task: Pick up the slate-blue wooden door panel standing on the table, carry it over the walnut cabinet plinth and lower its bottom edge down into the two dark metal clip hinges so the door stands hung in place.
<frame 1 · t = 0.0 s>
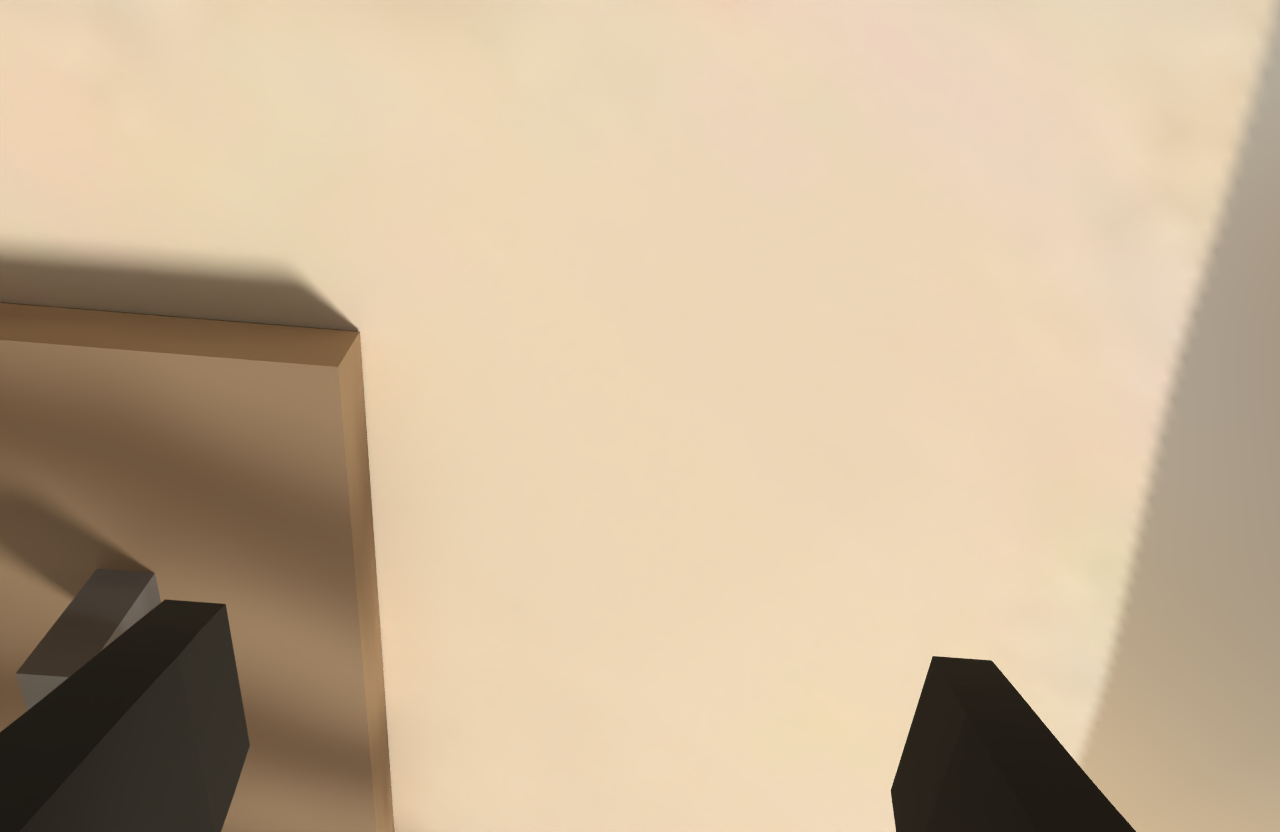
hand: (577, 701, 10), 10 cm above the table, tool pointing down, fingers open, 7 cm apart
plinth: (140, 679, 24), on the table
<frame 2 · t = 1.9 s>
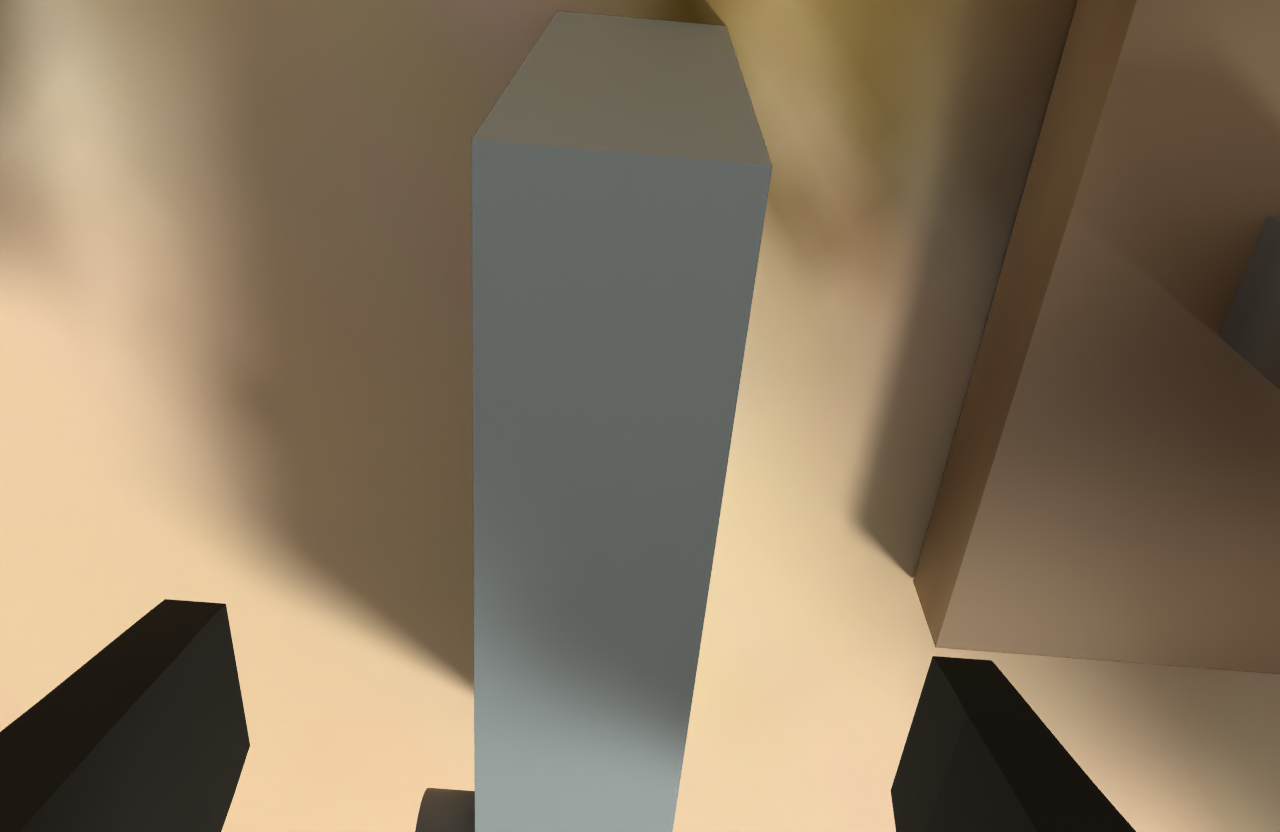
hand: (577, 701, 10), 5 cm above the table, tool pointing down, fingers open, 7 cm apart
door: (609, 443, 15), on the table
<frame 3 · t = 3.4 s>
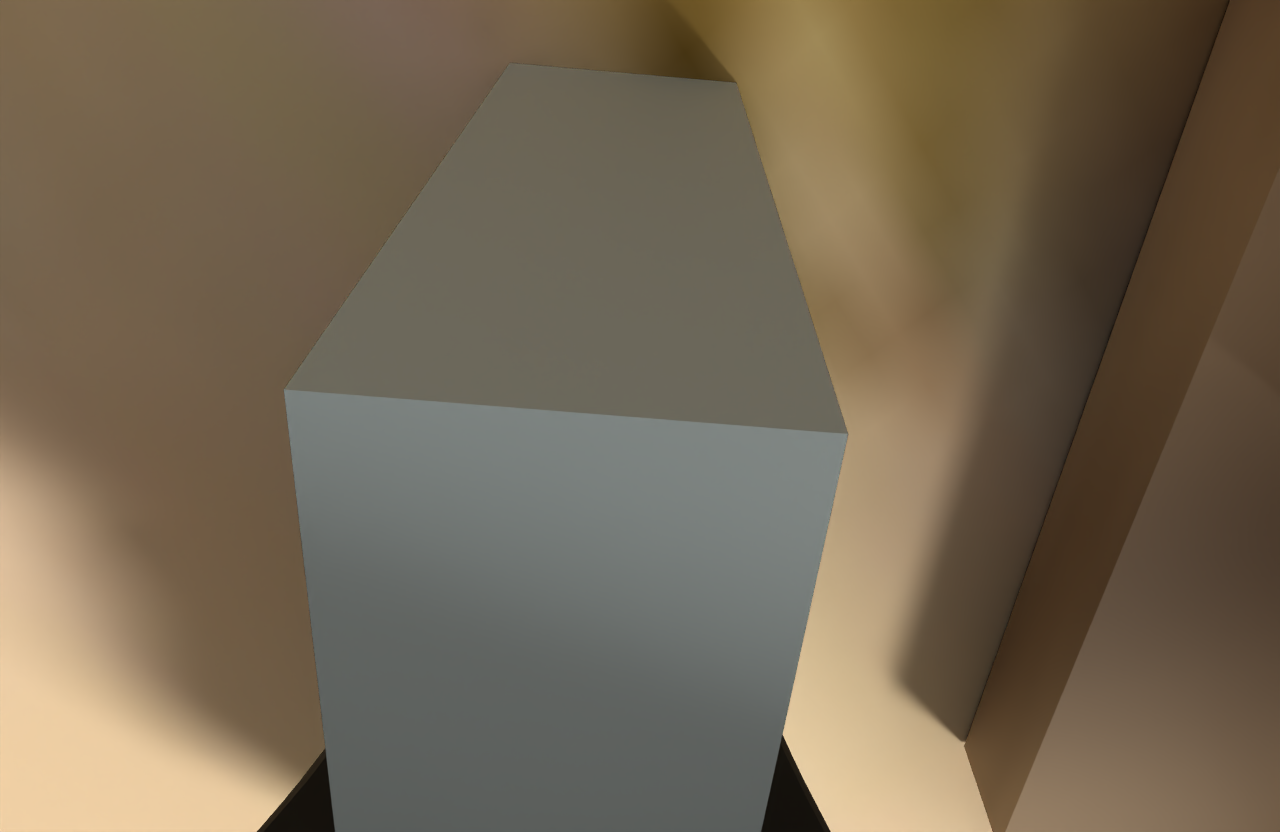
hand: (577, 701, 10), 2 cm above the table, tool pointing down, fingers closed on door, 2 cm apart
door: (587, 596, 12), on the table, touching gripper
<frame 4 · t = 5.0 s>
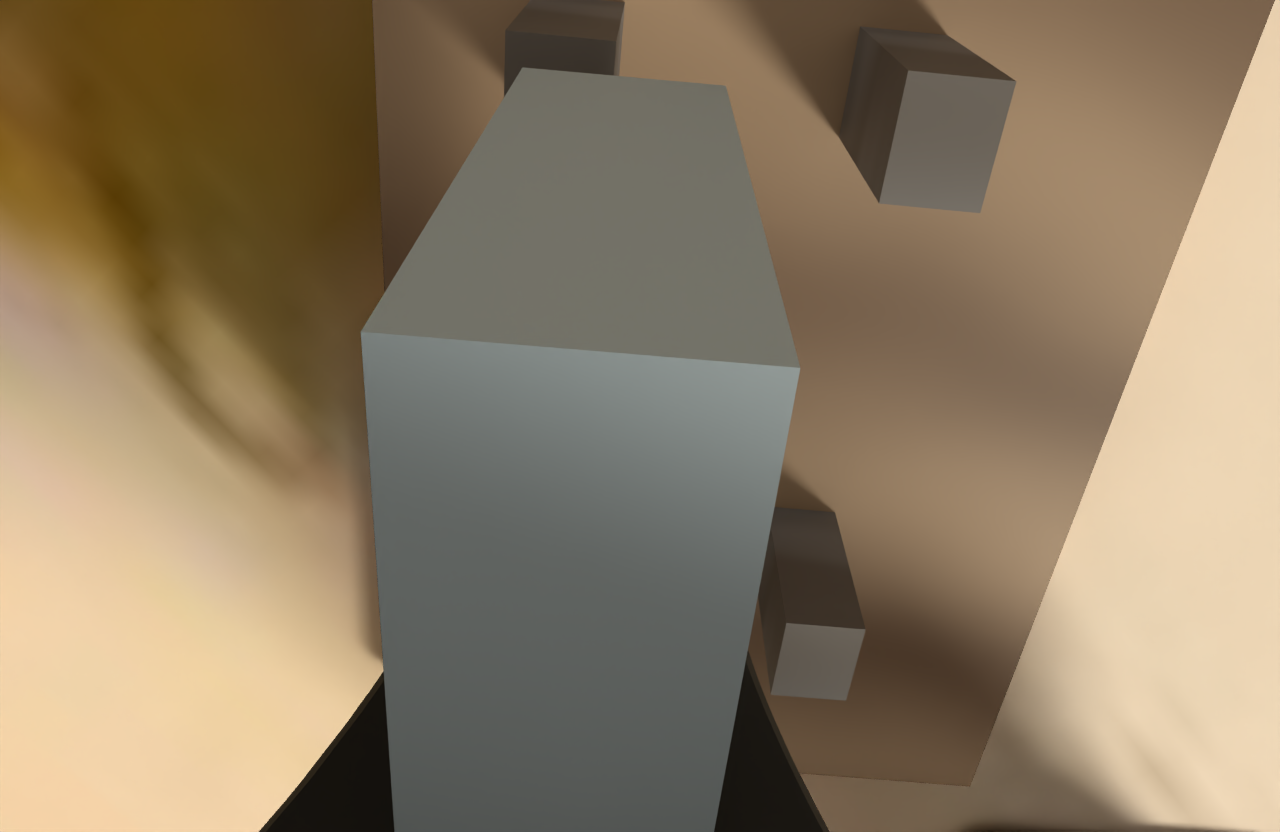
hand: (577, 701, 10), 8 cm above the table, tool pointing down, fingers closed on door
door: (589, 557, 13), point 6 cm above the table, touching gripper
plinth: (754, 299, 17), on the table
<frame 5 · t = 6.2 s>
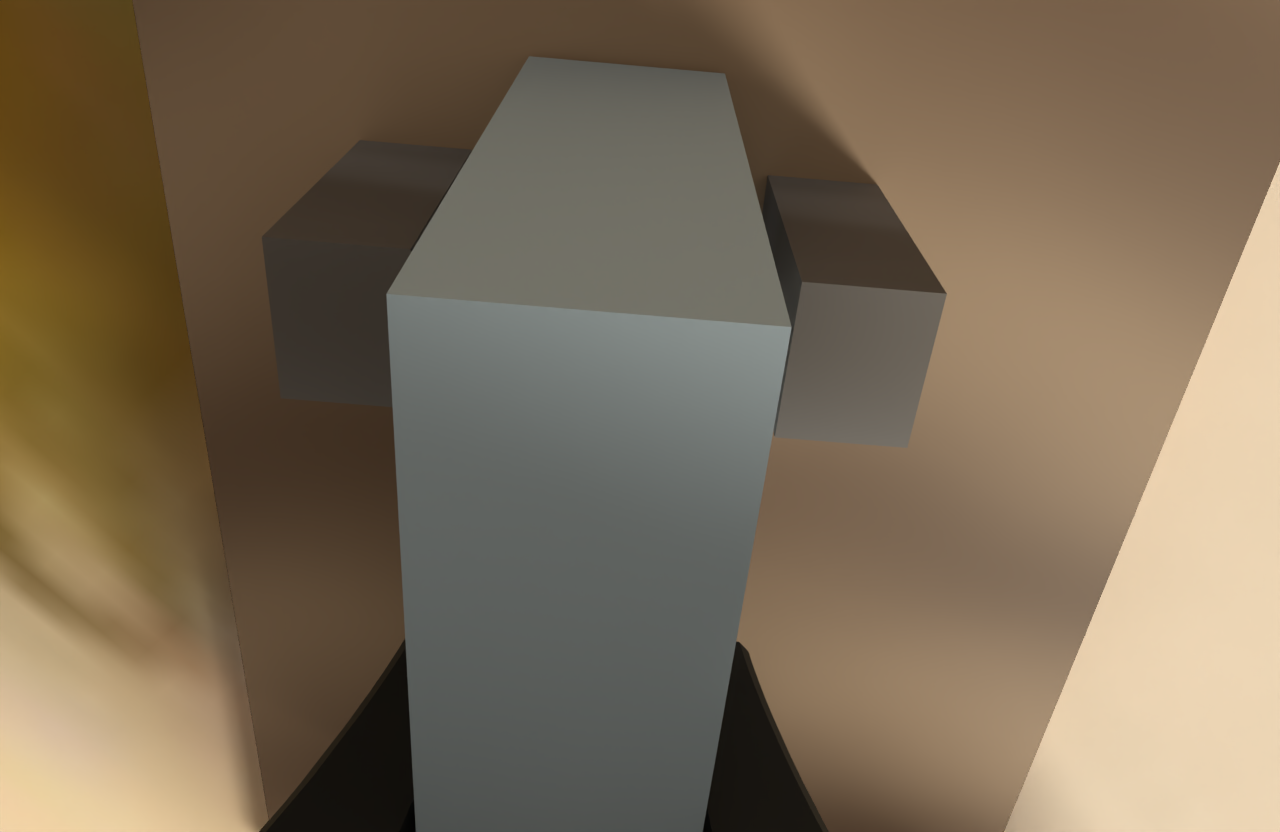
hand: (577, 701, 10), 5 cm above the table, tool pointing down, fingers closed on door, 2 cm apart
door: (593, 534, 13), point 2 cm above the table, touching gripper
plinth: (669, 462, 14), on the table
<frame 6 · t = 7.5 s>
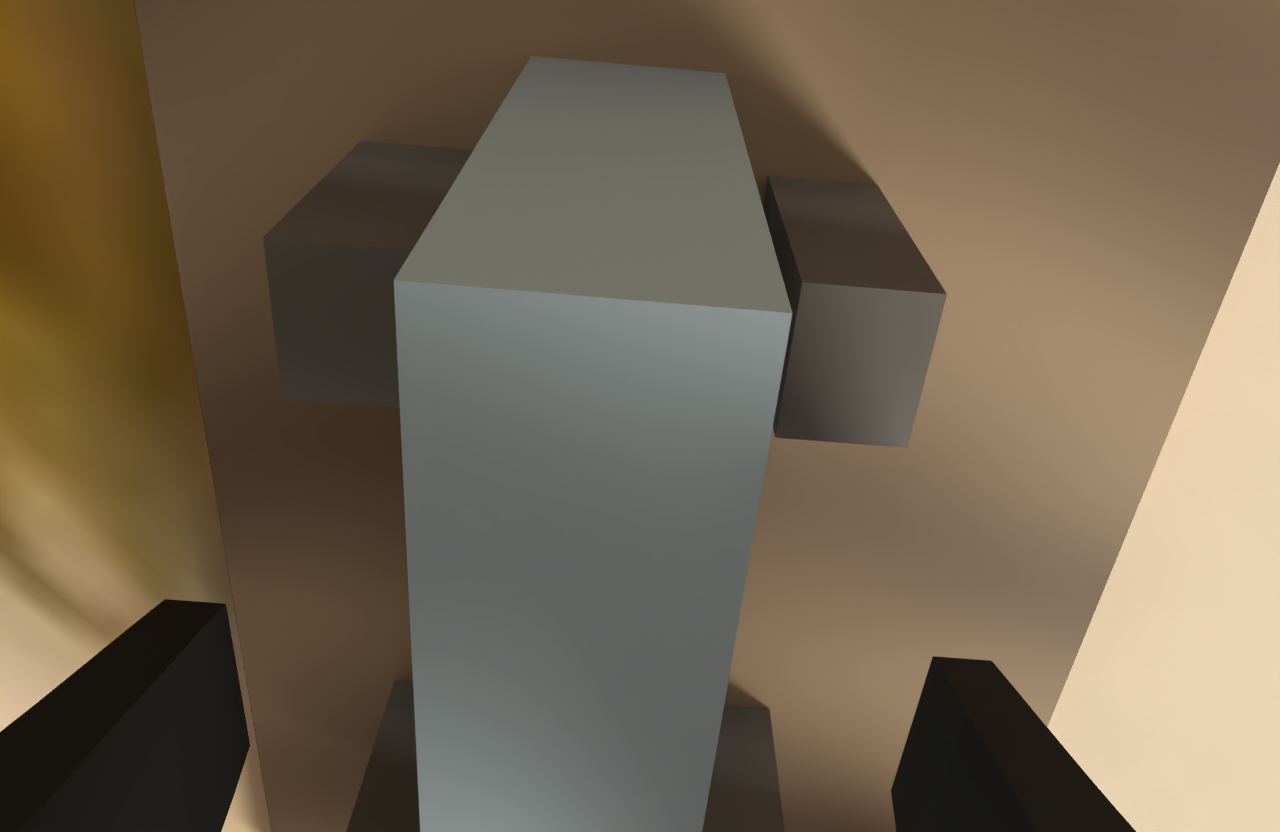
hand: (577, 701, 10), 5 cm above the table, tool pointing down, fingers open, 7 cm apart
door: (594, 532, 13), point 1 cm above the table, touching plinth
plinth: (669, 462, 14), on the table
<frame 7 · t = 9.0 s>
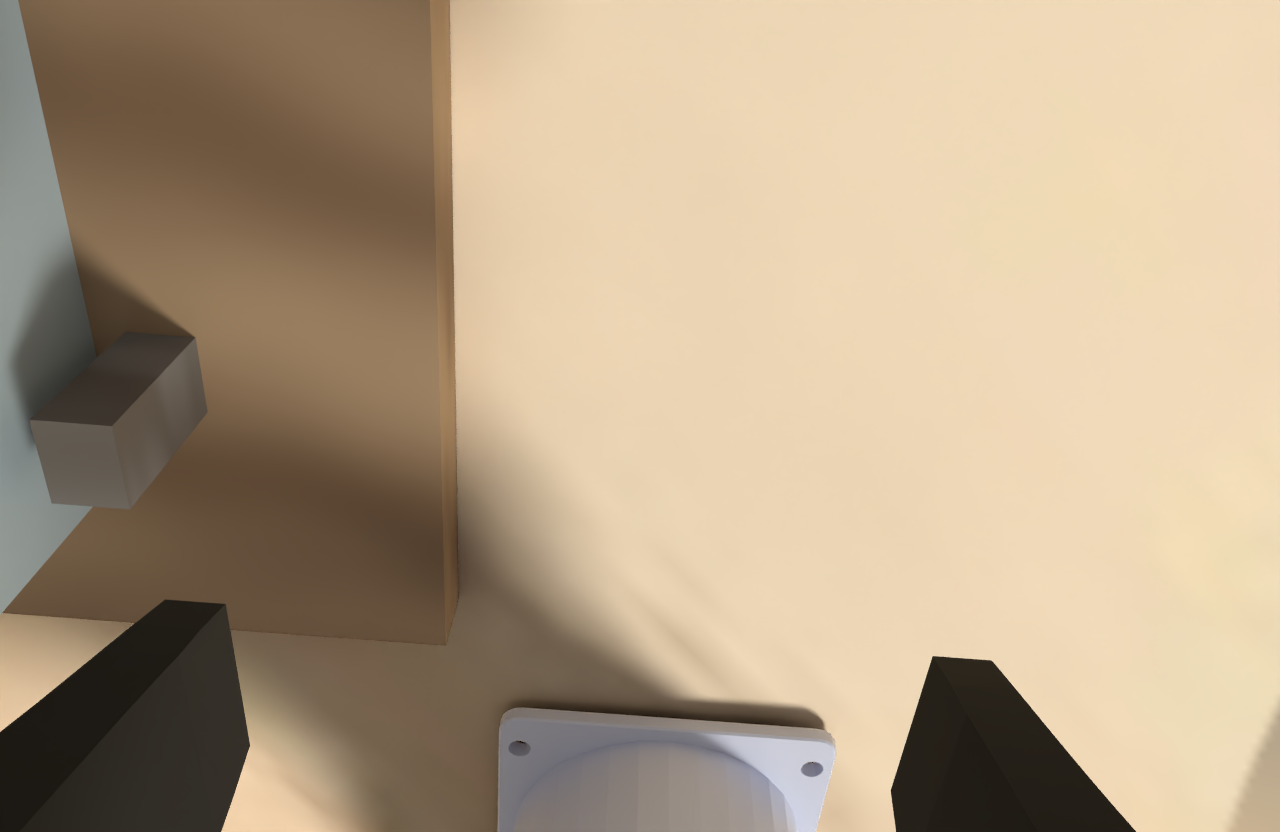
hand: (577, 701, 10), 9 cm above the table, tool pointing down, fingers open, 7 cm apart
plinth: (96, 117, 17), on the table
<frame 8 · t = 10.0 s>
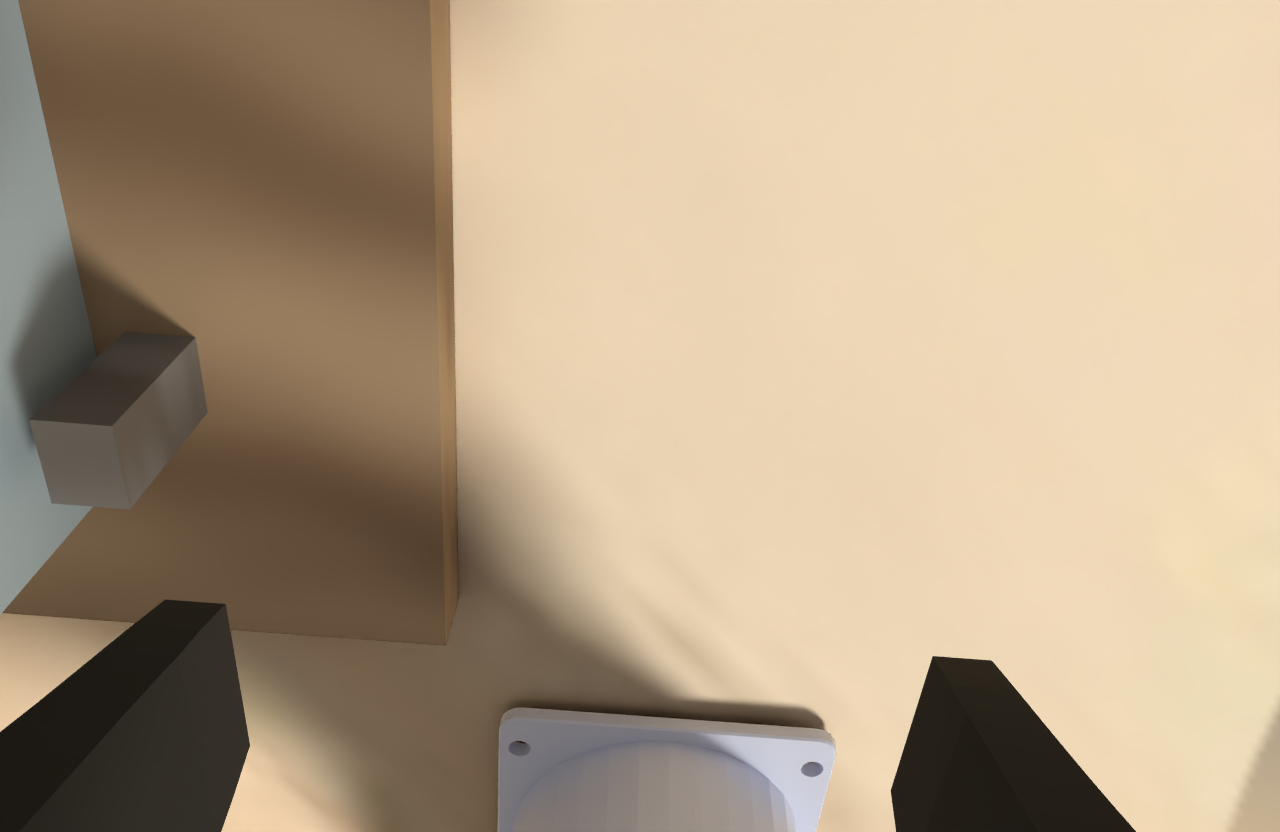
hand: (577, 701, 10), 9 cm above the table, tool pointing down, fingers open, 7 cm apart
plinth: (96, 117, 17), on the table
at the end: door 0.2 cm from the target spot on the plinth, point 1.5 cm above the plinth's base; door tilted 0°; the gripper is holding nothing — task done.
